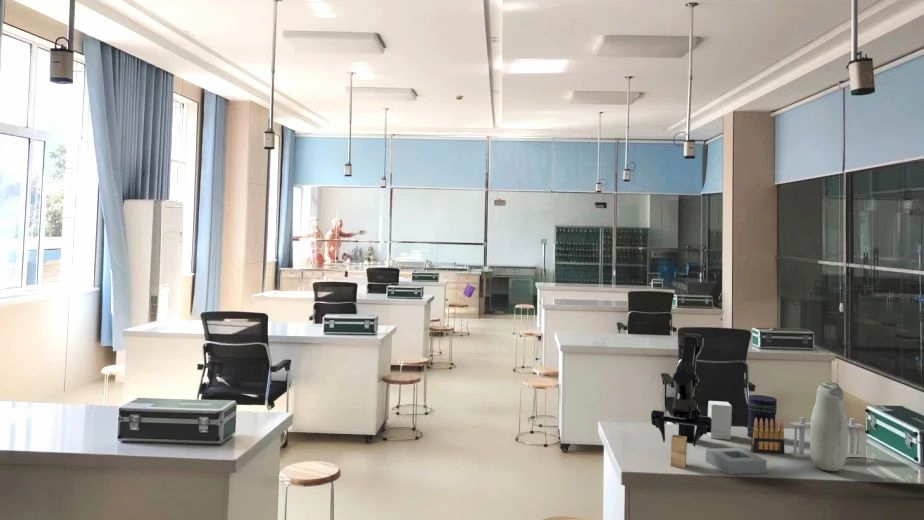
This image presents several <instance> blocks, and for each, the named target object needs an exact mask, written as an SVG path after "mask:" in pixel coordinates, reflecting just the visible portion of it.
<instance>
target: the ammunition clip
mask: <svg viewBox="0 0 924 520" xmlns="http://www.w3.org/2000/svg"><path fill="white" fill-rule="evenodd" d="M784 423H785V422H784V420H783V418H781V420H780V423H779V419H778V418H775V428H774V429H773V419H772V418H771V420H770V426H769V430H768V419H767V418H766V420H765V425H764V432H763V420H762V418H761V419H760V422H759V429H758V421H757V418H755V421H754V428H753V437H752V438H751V448H750V452H751V453H753V454H755V453H757V454H773V453H774V455H775V454H777V455H785V429H784V427H785V426H784V425H785V424H784Z"/></svg>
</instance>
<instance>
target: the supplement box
mask: <svg viewBox="0 0 924 520" xmlns="http://www.w3.org/2000/svg"><path fill="white" fill-rule="evenodd" d="M707 403H708V405H707V416H708V417H711V419H712V427H711V432H710V433H708V432H707V435H708V436H709V438H710V439H718V440H719V439H720V440H727V441H728V440H731V438H732V437H731V435H732V415H733V414H732V413H733V406H732V404H731V403H730V402H729V401H719V400H708V402H707Z"/></svg>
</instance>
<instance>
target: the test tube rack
mask: <svg viewBox="0 0 924 520" xmlns="http://www.w3.org/2000/svg"><path fill="white" fill-rule="evenodd" d="M848 420H849V422H848V440H847V452H848V453H849V454H853V453H854V452H855V454H860V453H859V452H860V450H859V449H860V429H862V428H863V429H866V428H867V426H865V425H863V424H860V423H856V418H854V417H850V418H849V419H848ZM788 423H789V424H791V425H792V426H793V427H794V432H793V433H794V434H793V436H794V437H793V450H787V451H786V452H787V454H788V455H790V456H792V457H793V456H794V458H811V455H810V450H808V451H806V450H805V437H806V427H808V428H809V427H810V428H811V421H810V422H809V421H807V422H806V417H804V416H800V417H799V421H789V422H788ZM798 429H799V430H798ZM855 429H856V430H855ZM855 432H856V434H855ZM855 435H856V439H855ZM797 441H798V445H797ZM855 441H856V442H855ZM797 446H798V450H797Z"/></svg>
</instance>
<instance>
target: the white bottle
mask: <svg viewBox="0 0 924 520" xmlns="http://www.w3.org/2000/svg"><path fill="white" fill-rule="evenodd" d="M815 399H816V400H815V404H814V405H813V410H812V413H811V417H810V422H811V427H810V429H809V430H810V435H809V436H810V439H809V440H810V441H809V442H810V443H809V451H810V455H811V457H810V458H811V460H812V463H813V464H814V465H815V466H816V467H817V468H818V469H820V470H823V471H825V470H826V471H825V472H837V471H840V470H841V469H842V468H844V466H845V463H846V460H847V458H846V453H847V452H848V437H849V427H848V423H849V422H848V420H849V419H848V416H847V412H846V409H845V401H844V391H843V388H842V387H840V386H839V385H838V384H836V383H831V382H823V383H821V384H819V385H818V388H817V389H816V396H815Z"/></svg>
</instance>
